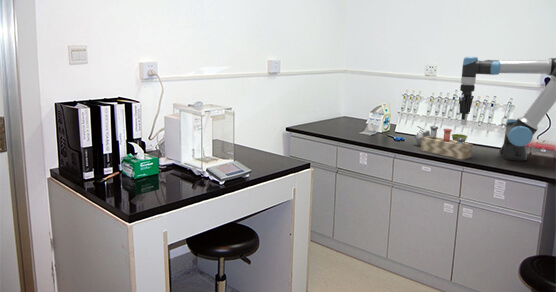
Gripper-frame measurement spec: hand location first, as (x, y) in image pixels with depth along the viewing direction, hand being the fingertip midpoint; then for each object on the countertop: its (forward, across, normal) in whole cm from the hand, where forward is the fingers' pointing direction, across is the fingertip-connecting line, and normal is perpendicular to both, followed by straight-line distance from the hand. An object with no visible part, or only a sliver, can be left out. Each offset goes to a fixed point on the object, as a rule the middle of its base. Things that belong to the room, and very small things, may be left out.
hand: (463, 124), depth 264 cm
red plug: (+14, 0, -10) cm, 17 cm away
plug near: (+18, 0, -1) cm, 18 cm away
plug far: (+14, 0, -18) cm, 23 cm away
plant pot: (+20, -19, -12) cm, 29 cm away
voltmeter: (+19, -11, -34) cm, 40 cm away
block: (+19, 0, -10) cm, 21 cm away
